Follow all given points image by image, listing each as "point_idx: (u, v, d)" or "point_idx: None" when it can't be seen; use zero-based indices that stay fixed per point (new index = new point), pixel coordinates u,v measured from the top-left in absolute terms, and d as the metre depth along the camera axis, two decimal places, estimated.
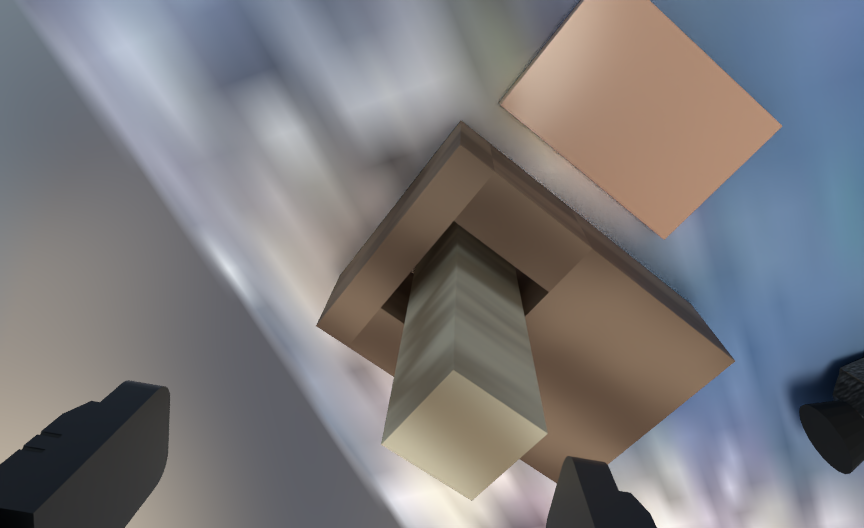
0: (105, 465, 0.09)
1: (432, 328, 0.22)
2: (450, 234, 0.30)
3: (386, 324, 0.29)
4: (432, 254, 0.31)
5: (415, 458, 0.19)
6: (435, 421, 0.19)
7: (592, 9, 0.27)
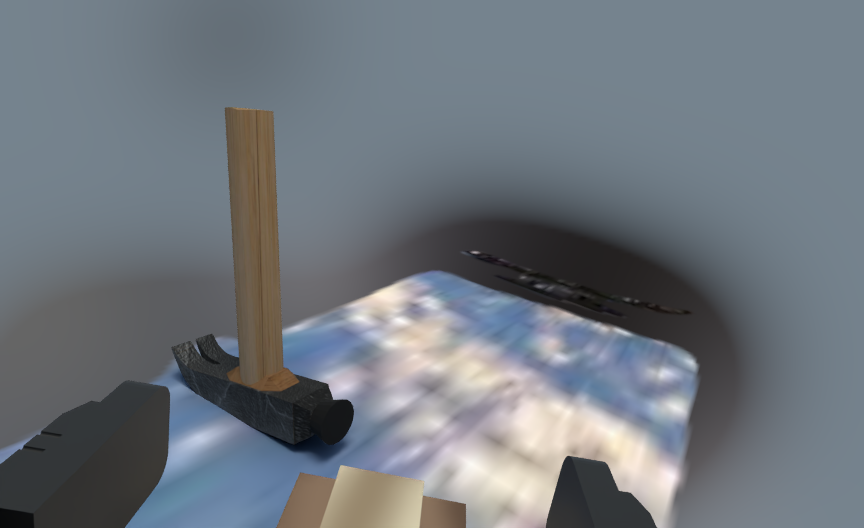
0: (105, 464, 0.09)
1: None
2: None
3: None
4: None
5: (413, 522, 0.24)
6: (371, 522, 0.23)
7: None
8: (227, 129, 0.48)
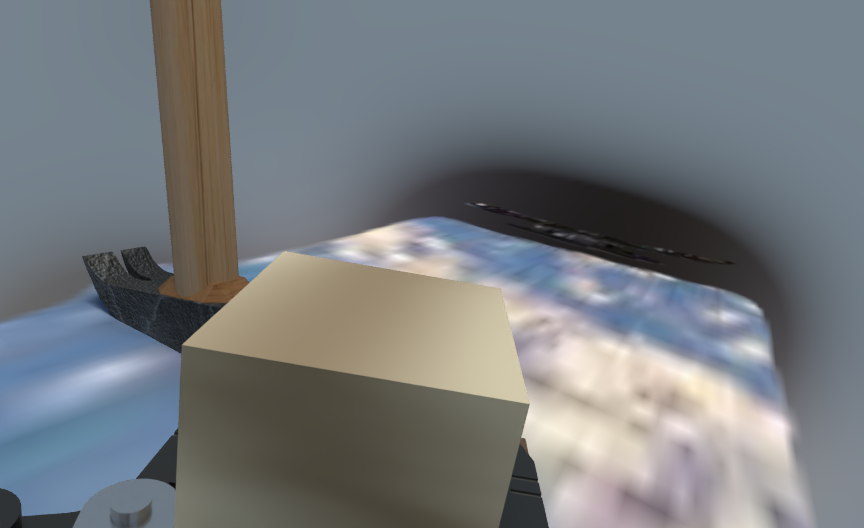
0: None
1: None
2: None
3: None
4: None
5: (495, 350, 0.08)
6: (367, 342, 0.07)
7: None
8: None
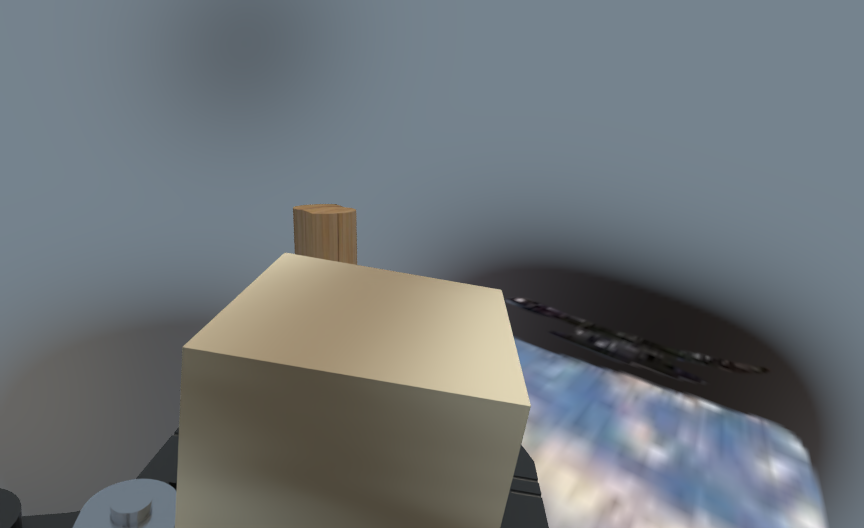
0: None
1: None
2: None
3: None
4: None
5: (497, 352, 0.08)
6: (368, 345, 0.07)
7: None
8: (297, 237, 0.36)
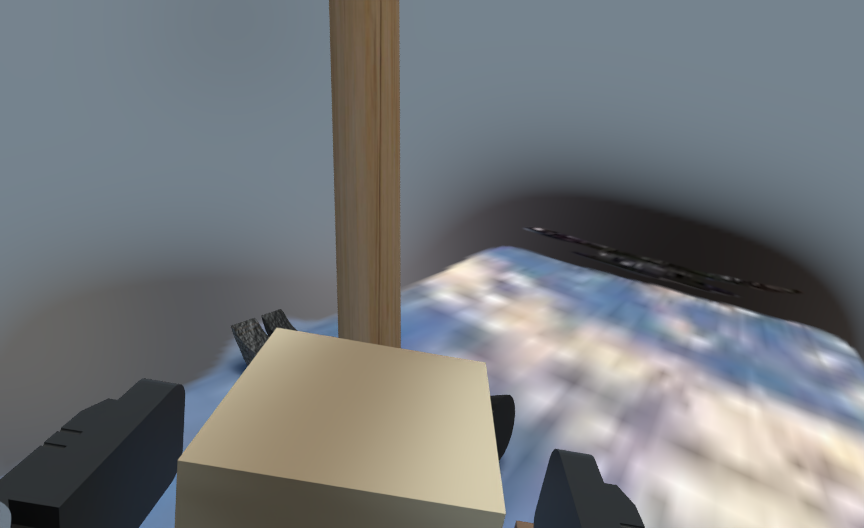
0: (125, 460, 0.09)
1: None
2: None
3: None
4: None
5: (477, 447, 0.08)
6: (354, 445, 0.08)
7: None
8: None
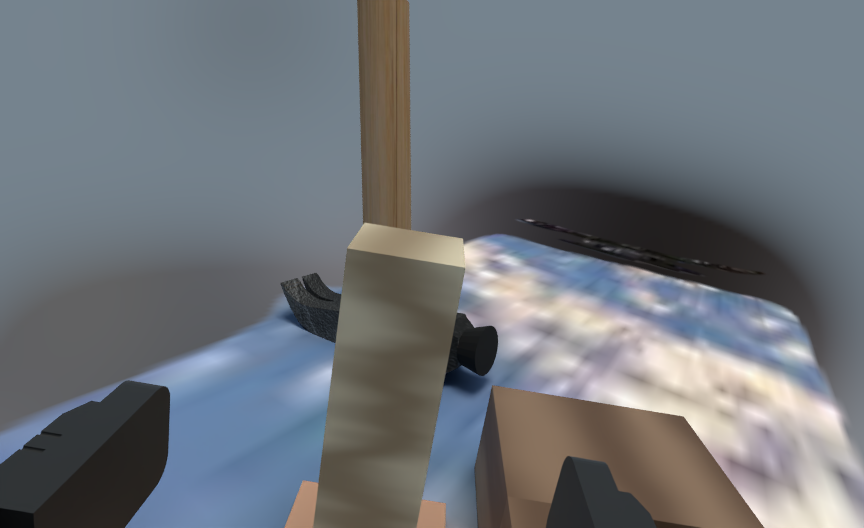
0: (105, 465, 0.09)
1: (373, 374, 0.20)
2: None
3: None
4: None
5: (456, 256, 0.20)
6: (408, 251, 0.19)
7: None
8: (361, 21, 0.43)
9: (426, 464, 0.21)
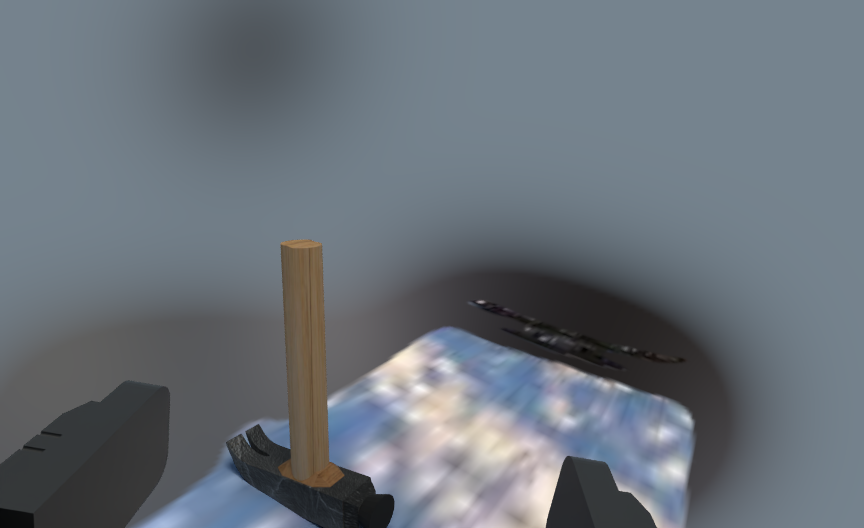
0: (106, 465, 0.09)
1: None
2: None
3: None
4: None
5: None
6: None
7: None
8: (283, 263, 0.55)
9: None
